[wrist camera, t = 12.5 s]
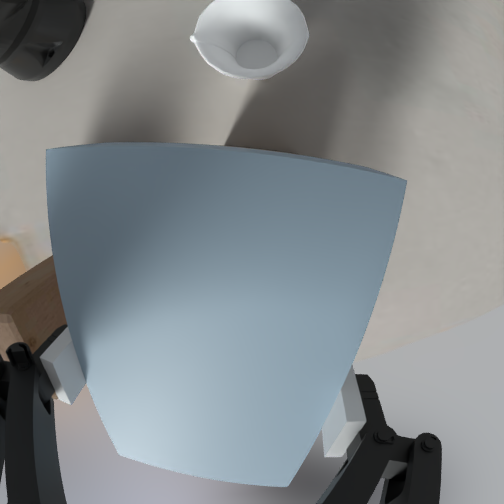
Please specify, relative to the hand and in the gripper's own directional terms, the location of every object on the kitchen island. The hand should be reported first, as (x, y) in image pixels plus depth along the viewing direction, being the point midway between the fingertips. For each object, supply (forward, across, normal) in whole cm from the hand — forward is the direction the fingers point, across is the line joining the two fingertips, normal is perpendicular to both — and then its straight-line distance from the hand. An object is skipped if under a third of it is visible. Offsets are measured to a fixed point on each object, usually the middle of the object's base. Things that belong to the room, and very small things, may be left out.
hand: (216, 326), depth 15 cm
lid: (-1, 0, 0) cm, 1 cm away
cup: (+20, -1, +18) cm, 27 cm away
